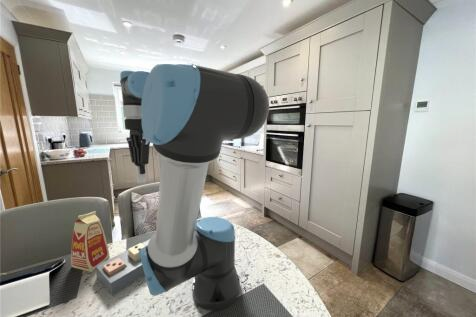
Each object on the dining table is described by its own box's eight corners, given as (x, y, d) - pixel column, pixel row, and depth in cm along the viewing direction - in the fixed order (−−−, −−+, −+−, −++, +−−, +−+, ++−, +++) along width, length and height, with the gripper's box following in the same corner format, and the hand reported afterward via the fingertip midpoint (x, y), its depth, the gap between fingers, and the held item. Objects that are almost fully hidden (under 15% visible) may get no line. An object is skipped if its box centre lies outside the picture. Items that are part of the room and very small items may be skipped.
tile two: (148, 254, 72) (147, 246, 71) (135, 262, 68) (134, 253, 68) (141, 249, 75) (140, 242, 74) (128, 256, 71) (127, 248, 70)
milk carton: (91, 271, 69) (83, 219, 66) (70, 267, 71) (61, 217, 67) (112, 255, 78) (106, 208, 74) (93, 251, 80) (86, 206, 76)
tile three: (126, 271, 66) (125, 262, 65) (110, 280, 62) (109, 271, 61) (119, 265, 69) (118, 257, 68) (104, 273, 65) (103, 265, 64)
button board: (175, 255, 78) (174, 245, 77) (112, 295, 60) (110, 283, 59) (158, 244, 85) (157, 235, 84) (97, 277, 66) (95, 266, 66)
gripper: (156, 118, 68) (160, 182, 73) (137, 118, 76) (142, 176, 80) (134, 118, 62) (140, 188, 67) (116, 118, 70) (123, 181, 74)
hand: (141, 181), depth 73 cm, fingers closed
